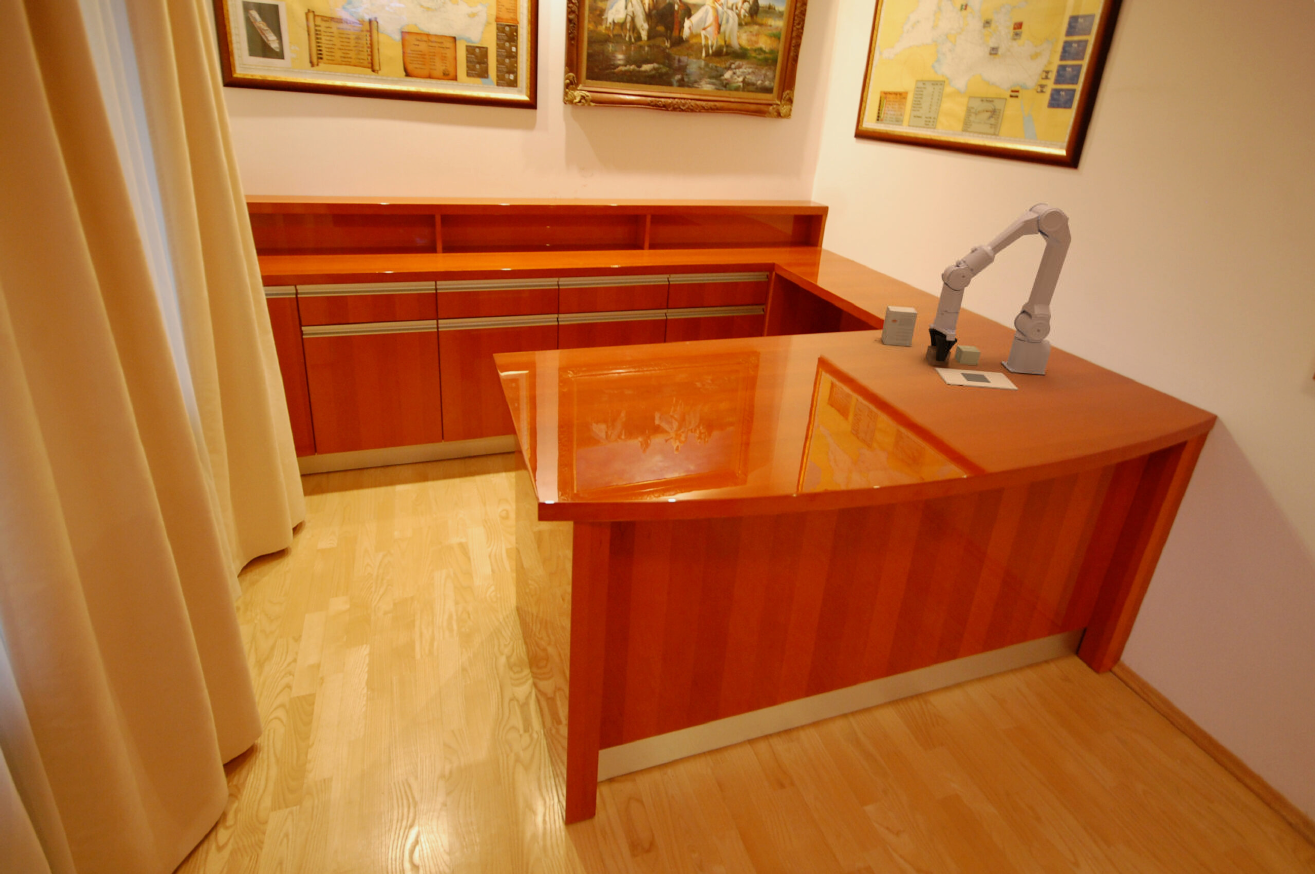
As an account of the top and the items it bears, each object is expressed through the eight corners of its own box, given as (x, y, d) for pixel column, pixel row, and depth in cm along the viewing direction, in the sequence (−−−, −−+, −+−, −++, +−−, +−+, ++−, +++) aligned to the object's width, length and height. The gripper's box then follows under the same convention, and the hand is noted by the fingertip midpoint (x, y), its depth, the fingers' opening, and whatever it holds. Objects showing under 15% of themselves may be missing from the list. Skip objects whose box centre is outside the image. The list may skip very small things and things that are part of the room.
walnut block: (943, 360, 211) (946, 346, 209) (947, 366, 207) (951, 352, 205) (925, 358, 211) (928, 345, 210) (929, 364, 207) (932, 351, 205)
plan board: (1001, 374, 203) (1002, 372, 203) (1017, 390, 192) (1018, 388, 192) (934, 369, 204) (935, 367, 203) (947, 384, 193) (947, 382, 193)
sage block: (971, 359, 214) (974, 346, 212) (977, 365, 209) (980, 352, 207) (954, 358, 214) (957, 345, 212) (959, 364, 209) (962, 350, 208)
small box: (907, 341, 226) (914, 307, 222) (910, 347, 221) (918, 312, 217) (880, 339, 227) (886, 305, 222) (883, 344, 222) (890, 310, 217)
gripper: (926, 302, 209) (916, 348, 215) (940, 316, 196) (929, 365, 202) (952, 304, 209) (941, 350, 215) (967, 318, 196) (956, 367, 202)
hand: (937, 357), depth 208 cm, fingers closed on walnut block, 5 cm apart
